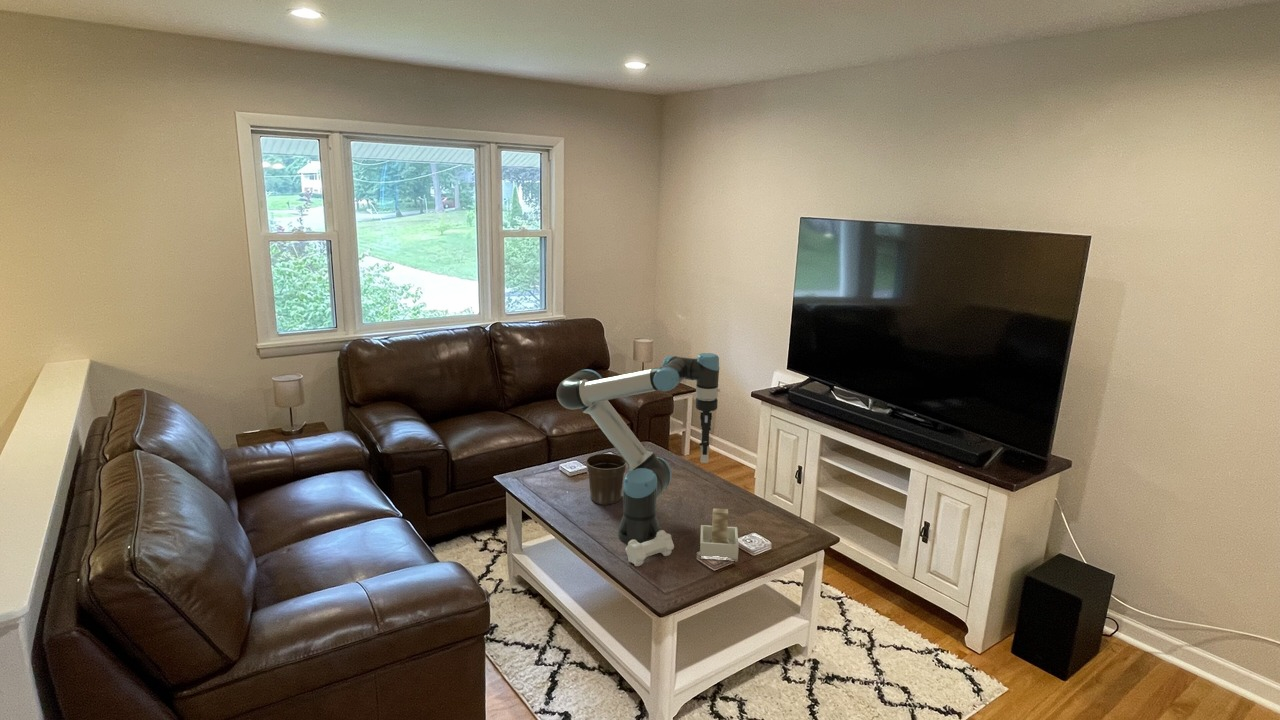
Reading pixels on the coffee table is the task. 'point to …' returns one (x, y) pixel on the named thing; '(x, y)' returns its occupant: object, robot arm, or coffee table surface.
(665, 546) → the dog bone
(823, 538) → the coffee table surface
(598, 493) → the plant pot
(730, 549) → the open rectangular box
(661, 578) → the coffee table surface
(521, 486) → the coffee table surface
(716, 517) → the wooden wick block
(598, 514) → the coffee table surface
